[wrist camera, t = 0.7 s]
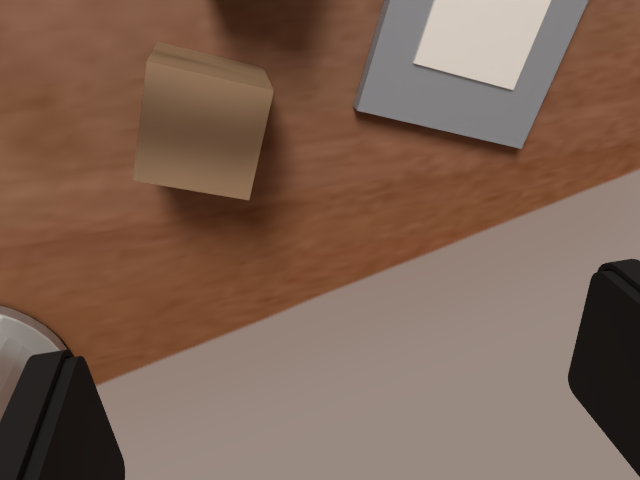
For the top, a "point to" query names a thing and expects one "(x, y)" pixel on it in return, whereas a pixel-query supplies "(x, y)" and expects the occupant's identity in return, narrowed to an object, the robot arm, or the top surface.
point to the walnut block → (201, 122)
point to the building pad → (467, 64)
